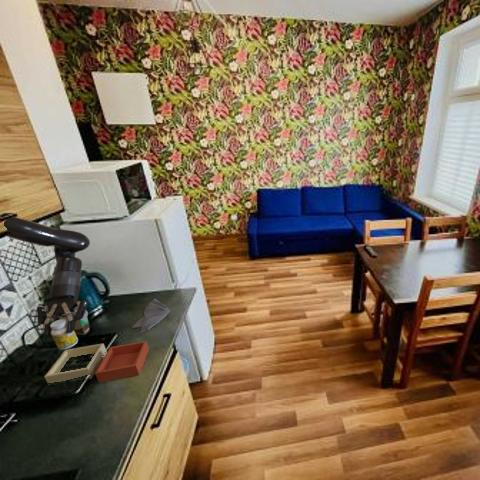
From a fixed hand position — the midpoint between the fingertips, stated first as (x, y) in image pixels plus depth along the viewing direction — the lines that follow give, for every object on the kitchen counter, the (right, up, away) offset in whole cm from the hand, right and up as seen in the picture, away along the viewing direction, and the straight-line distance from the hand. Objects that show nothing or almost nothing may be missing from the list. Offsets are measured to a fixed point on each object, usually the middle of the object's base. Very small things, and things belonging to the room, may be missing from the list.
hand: (58, 334), depth 90 cm
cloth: (+8, -4, +40) cm, 41 cm away
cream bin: (-2, -17, +10) cm, 20 cm away
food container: (-18, -8, +30) cm, 36 cm away
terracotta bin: (+14, -16, +12) cm, 24 cm away
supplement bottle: (-1, -5, +4) cm, 7 cm away
